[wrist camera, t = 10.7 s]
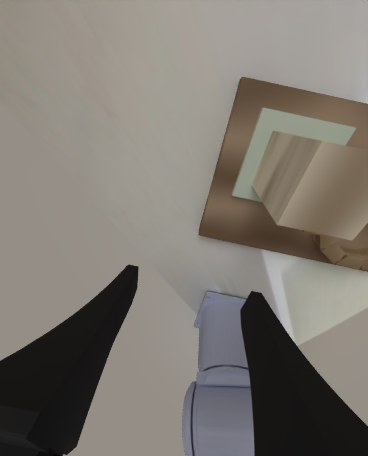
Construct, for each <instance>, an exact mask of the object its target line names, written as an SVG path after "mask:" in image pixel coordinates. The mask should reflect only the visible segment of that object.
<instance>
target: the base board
mask: <svg viewBox="0 0 368 456" xmlns="http://www.w3.org/2000/svg"><path fill="white" fill-rule="evenodd" d="M261 108H268V109H272V110H277V111H282V112H286V113H291V114H295V115H300V116H305V117H309V118H314V119H318V120H323V121H328V122H332V123H337V124H341V125H346V126H351V127H355V128H356V129H355V131H354V133H353V134H352V136H351V138H350V139H349V141H348V142H347V144H346V146H349V147H354V148H359V149H363V150H368V104H366V103H361V102H356V101H352V100H347V99H343V98H338V97H333V96H329V95H324V94H320V93H315V92H310V91H306V90H301V89H297V88H292V87H288V86H283V85H278V84H274V83H269V82H265V81H260V80H255V79H251V78H246V77H242V78H241V79H240V81H239V85H238V89H237V92H236V96H235V100H234V103H233V107H232V111H231V114H230V118H229V122H228V125H227V129H226V133H225V136H224V140H223V144H222V147H221V151H220V155H219V158H218V162H217V166H216V169H215V173H214V177H213V180H212V184H211V187H210V191H209V195H208V198H207V202H206V206H205V209H204V213H203V217H202V220H201V224H200V228H199V235H200V236H205V237H209V238H214V239H219V240H223V241H228V242H233V243H237V244H242V245H247V246H251V247H256V248H260V249H265V250H270V251H274V252H279V253H284V254H288V255H293V256H298V257H302V258H307V259H311V260H316V261H321V262H325V263H330V264H335V265H339V266H344V267H348V268H353V269H358V270H362V271H367V272H368V223H367V224H366V225H365V226H364V228H363V229H362V230H361V231H360V232H359V233H358V235H357V236H356V237H355V238H354V239H353V240H347V239H342V238H338V237H333V236H328V235H324V236H320V235H316V234H311V233H306V232H303V231H302V230H299V229H295V228H290V227H285V226H280V225H277V224H276V223H275V221H274V220H273V218H272V216H271V215H270V213H269V212H268V210H267V209H266V207H265V205H264V204H263V202H259V201H254V200H250V199H245V198H240V197H236V196H232V191H233V188H234V185H235V182H236V179H237V177H238V174H239V171H240V168H241V165H242V162H243V159H244V156H245V154H246V151H247V148H248V145H249V142H250V139H251V136H252V133H253V131H254V128H255V125H256V122H257V119H258V116H259V113H260V110H261Z"/></svg>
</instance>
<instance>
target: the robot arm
mask: <svg viewBox="0 0 368 456" xmlns="http://www.w3.org/2000/svg"><path fill="white" fill-rule="evenodd" d="M137 283H138V266H133V265H128V266H126V268H125V269H124V270H123V271H122V272H121V273H120V274H119V275H118V276H117V277H116V278H115V279H114V280H113V281H112V282H111V283H110V284H109V285H108V286H107V287H106V288H105V289H104V290H102V291H101V292H100V293H99V294H98V295H97V296H96V297H95V298H93V299H92V300H91V301H90V302H89V303H87V304H86V305H85V306H84V307H83V308H81V309H80V310H79V311H78V312H76V313H75V314H73V315H72V316H71V317H69V318H68V319H67V320H65V321H64V322H62V323H61V324H59V325H58V326H56V327H55V328H54V329H52V330H51V331H49V332H48V333H46V334H44V335H43V336H41V337H40V338H38V339H36V340H35V341H33V342H32V343H30V344H28V345H27V346H25V347H24V348H22V349H20V350H19V351H17V352H15V353H13V354H12V355H10V356H8V357H6V358H4V359H3V360H1V361H0V456H63V454H65V455H67V454H68V453H70V452H71V451H72V450H73V449H74V448H75V447H76V446H77V444H78V440H79V437H80V434H81V432H82V429H83V425H84V423H85V420H86V417H87V414H88V411H89V408H90V405H91V402H92V399H93V397H94V394H95V390H96V388H97V385H98V382H99V380H100V377H101V374H102V372H103V369H104V366H105V363H106V361H107V358H108V355H109V352H110V350H111V347H112V345H113V343H114V341H115V338H116V336H117V334H118V332H119V330H120V328H121V325H122V323H123V321H124V319H125V317H126V315H127V313H128V311H129V308H130V306H131V304H132V301H133V299H134V296H135V293H136V290H137ZM194 327H196V328H199V356H198V368H199V372H197V381H195V382H192V383H191V385H190V387H189V388H188V390H187V392H186V395H185V400H184V405H183V416H182V437H183V446H184V452H185V456H368V426H367V425H366V424H365V423H364V422H363V421H362V420H361V419H360V418H359V417H358V416H357V415H356V414H355V413H354V412H353V411H352V410H351V409H350V408H349V407H348V406H347V405H346V403H344V401H343V400H342V399H341V398H340V397H339V396H338V395H337V394H336V393H335V391H334V390H333V389H332V388H331V387H330V386H329V385H328V384H327V383H326V381H325V380H324V379H323V378H322V377H321V376H320V374H318V372H317V371H316V370H315V368H314V367H313V366H312V365H311V364H310V362H309V361H308V360H307V359H306V357H305V356H304V355H303V354H302V352H301V351H300V350H299V348H298V347H297V345H296V344H295V343H294V341H293V340H292V339H291V337H290V336H289V334H288V333H287V332H286V330H285V329H284V327H283V326H282V324H281V323H280V321H279V320H278V318H277V317H276V315H275V314H274V312H273V311H272V309H271V307H270V306H269V304H268V303H267V301H266V300H265V298H264V296H263V295H262V293H259V292H254V291H251V293H250V295H249V296H248V298H247V299H242V298H238V297H233V296H228V295H224V294H219V293H214V292H207V293H206V295H205V297H204V300H203V302H202V305H201V307H200V310H199V313H198V315H197V318H196V320H195V323H194Z"/></svg>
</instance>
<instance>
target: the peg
mask: <svg viewBox="0 0 368 456" xmlns="http://www.w3.org/2000/svg"><path fill="white" fill-rule="evenodd" d="M252 187H253V188H254V190H255V191H256V193H257V195H258V196H259V198H260V199H261V201H262V202H263V204H264V205H265V207H266V209H267V210H268V212H269V213H270V215H271V216H272V218H273V220H274V221H275V223H276V224H277V225H280V226H285V227H290V228H295V229H299V230H302V231H303V232H306V233H311V234H316V235H320V236H324V235H328V236H333V237H338V238H342V239H347V240H353V239H354V238H355V237H356V236H357V235H358V233H359V232H360V231H361V230H362V229H363V228H364V226H365V225H366V224H367V223H368V150H363V149H359V148H354V147H349V146H344V145H340V144H335V143H330V142H325V141H321V140H316V139H311V138H306V137H302V136H297V135H292V134H287V133H282V132H278V131H273V132H272V134H271V137H270V139H269V142H268V144H267V147H266V150H265V152H264V155H263V157H262V160H261V162H260V165H259V167H258V170H257V172H256V175H255V177H254V180H253V183H252Z"/></svg>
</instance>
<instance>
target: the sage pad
mask: <svg viewBox="0 0 368 456" xmlns="http://www.w3.org/2000/svg"><path fill="white" fill-rule="evenodd" d="M355 129H356V128H355V127H351V126H346V125H341V124H337V123H332V122H328V121H323V120H318V119H314V118H309V117H305V116H300V115H295V114H291V113H286V112H282V111H277V110H272V109H268V108H261V110H260V113H259V116H258V119H257V122H256V125H255V128H254V131H253V133H252V136H251V139H250V142H249V145H248V148H247V151H246V154H245V156H244V159H243V162H242V165H241V168H240V171H239V174H238V177H237V179H236V182H235V185H234V188H233V191H232V196H236V197H240V198H245V199H250V200H254V201H259V202H262V201H261V199H260V198H259V196H258V195H257V193H256V191H255V190H254V188H253V187H252V183H253V180H254V177H255V175H256V172H257V170H258V167H259V165H260V162H261V160H262V157H263V155H264V152H265V150H266V147H267V144H268V142H269V139H270V137H271V134H272V132H273V131H278V132H282V133H287V134H292V135H297V136H302V137H306V138H311V139H316V140H321V141H325V142H330V143H335V144H340V145H344V146H346V144H347V142H348V141H349V139H350V138H351V136H352V134H353V133H354V131H355Z"/></svg>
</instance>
